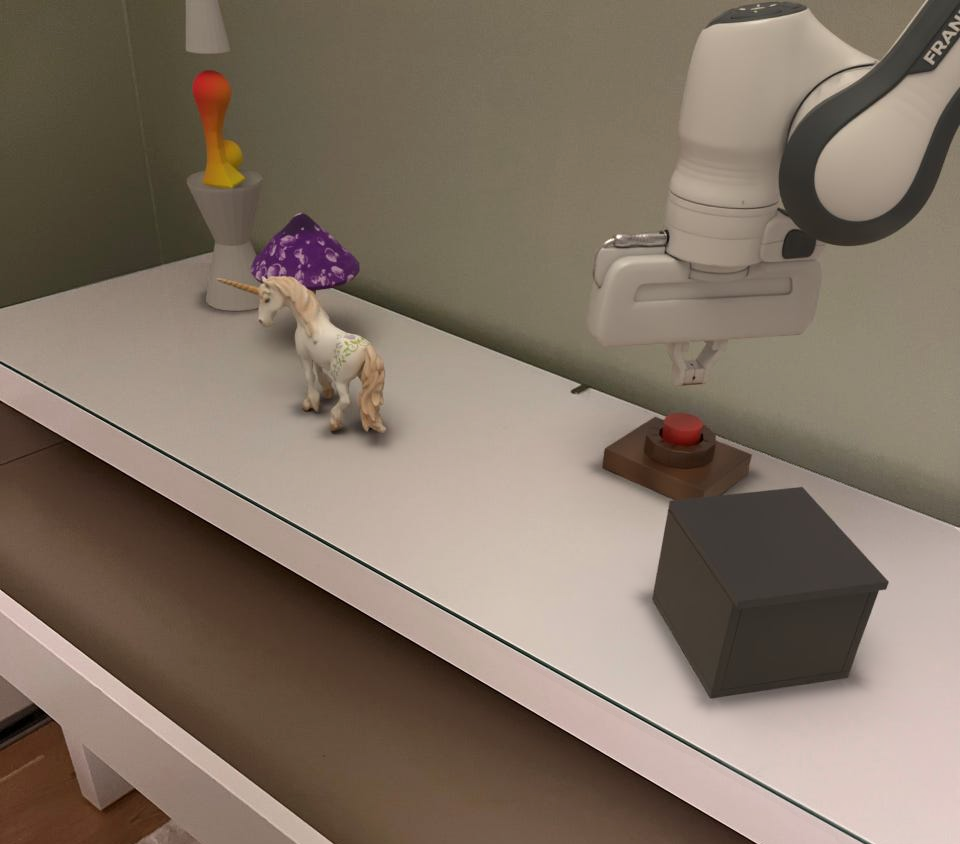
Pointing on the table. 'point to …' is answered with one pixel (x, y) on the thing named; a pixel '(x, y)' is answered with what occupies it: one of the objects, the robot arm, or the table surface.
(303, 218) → the decorative mushroom
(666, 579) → the dark grey cubic box
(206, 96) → the lava lamp
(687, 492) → the console
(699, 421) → the button
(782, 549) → the lid
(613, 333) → the robot arm
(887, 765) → the table surface
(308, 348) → the unicorn figurine
